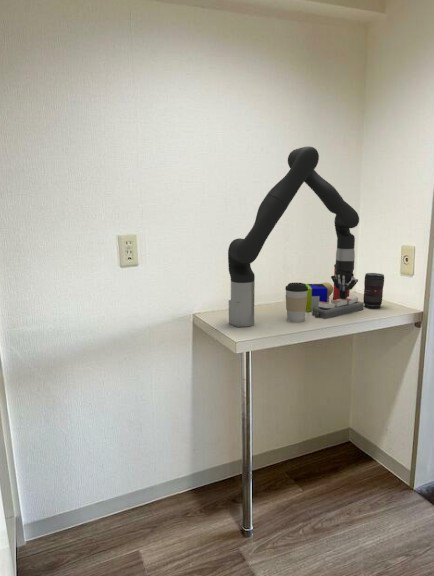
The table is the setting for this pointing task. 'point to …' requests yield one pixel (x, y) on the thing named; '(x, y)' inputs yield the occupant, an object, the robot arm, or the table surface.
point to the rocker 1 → (326, 305)
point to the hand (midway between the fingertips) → (343, 298)
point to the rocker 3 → (351, 299)
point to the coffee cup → (296, 301)
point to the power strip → (337, 310)
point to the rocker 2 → (339, 302)
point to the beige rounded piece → (330, 290)
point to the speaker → (336, 291)
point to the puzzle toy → (315, 295)
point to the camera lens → (373, 290)
